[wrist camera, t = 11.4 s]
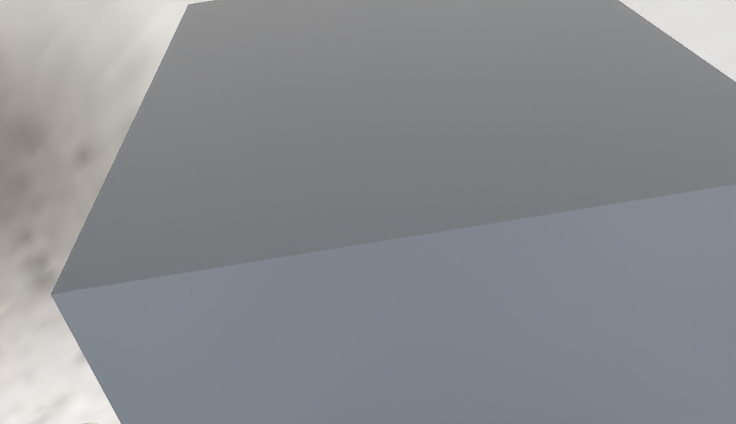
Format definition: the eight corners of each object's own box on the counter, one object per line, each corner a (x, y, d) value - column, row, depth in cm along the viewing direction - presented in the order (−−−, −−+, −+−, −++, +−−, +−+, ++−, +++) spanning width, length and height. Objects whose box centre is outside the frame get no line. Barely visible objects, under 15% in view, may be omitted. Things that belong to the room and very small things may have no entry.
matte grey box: (543, -52, 13) (855, 165, 6) (534, 355, 20) (675, 696, 12) (188, 4, 13) (51, 294, 6) (299, 393, 20) (301, 756, 12)
